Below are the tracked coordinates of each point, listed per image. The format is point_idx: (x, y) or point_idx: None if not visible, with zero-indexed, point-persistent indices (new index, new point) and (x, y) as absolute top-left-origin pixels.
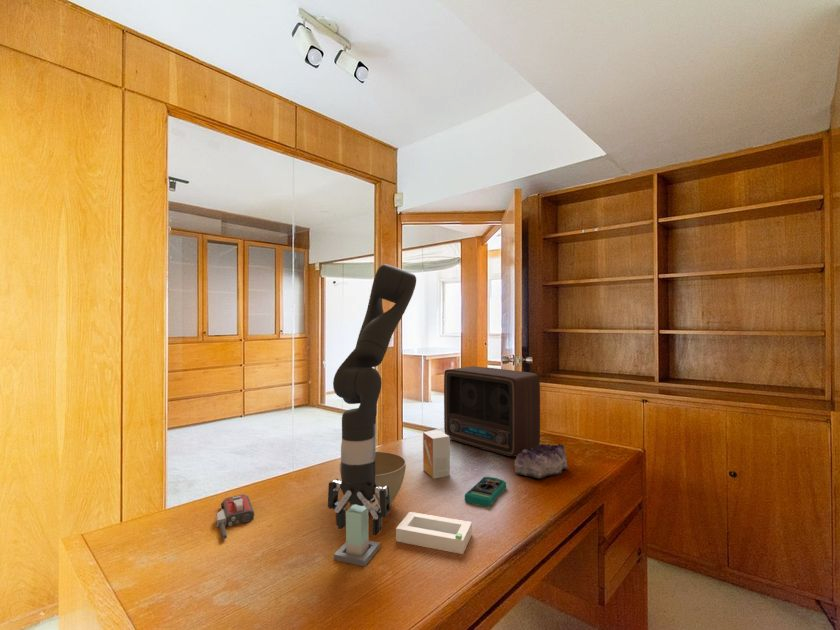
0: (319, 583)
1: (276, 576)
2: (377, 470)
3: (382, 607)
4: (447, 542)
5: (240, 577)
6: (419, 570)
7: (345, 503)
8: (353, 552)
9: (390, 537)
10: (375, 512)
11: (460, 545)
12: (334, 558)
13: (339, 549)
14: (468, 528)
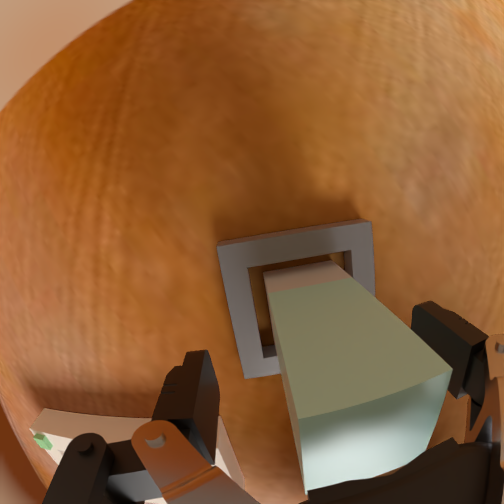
0: (309, 74)
1: (442, 70)
2: None
3: (51, 106)
4: (62, 427)
5: (487, 54)
6: (58, 313)
7: (490, 413)
8: (302, 272)
9: (252, 423)
10: (147, 463)
11: (39, 421)
12: (362, 219)
13: (371, 262)
14: None
